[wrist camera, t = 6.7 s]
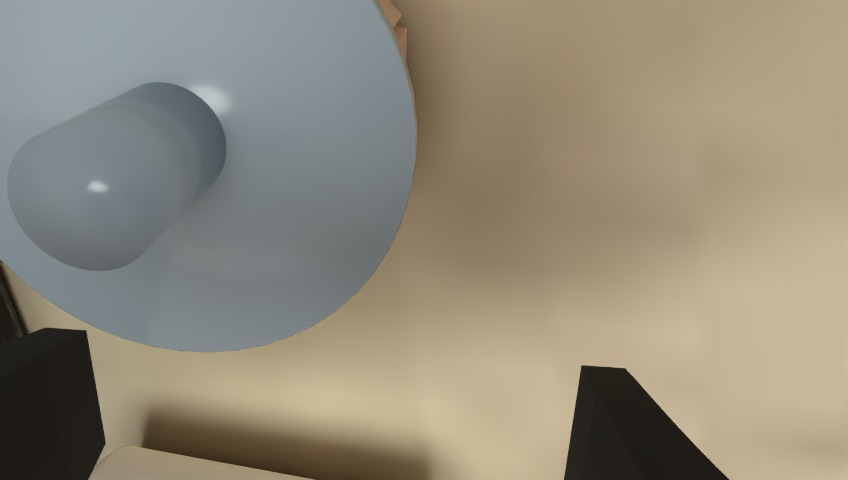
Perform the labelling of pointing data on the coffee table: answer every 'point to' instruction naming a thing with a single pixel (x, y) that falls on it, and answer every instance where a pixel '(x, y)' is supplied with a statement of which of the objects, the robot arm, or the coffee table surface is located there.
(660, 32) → the coffee table surface
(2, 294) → the cash box
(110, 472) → the mug
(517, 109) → the coffee table surface
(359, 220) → the lid
